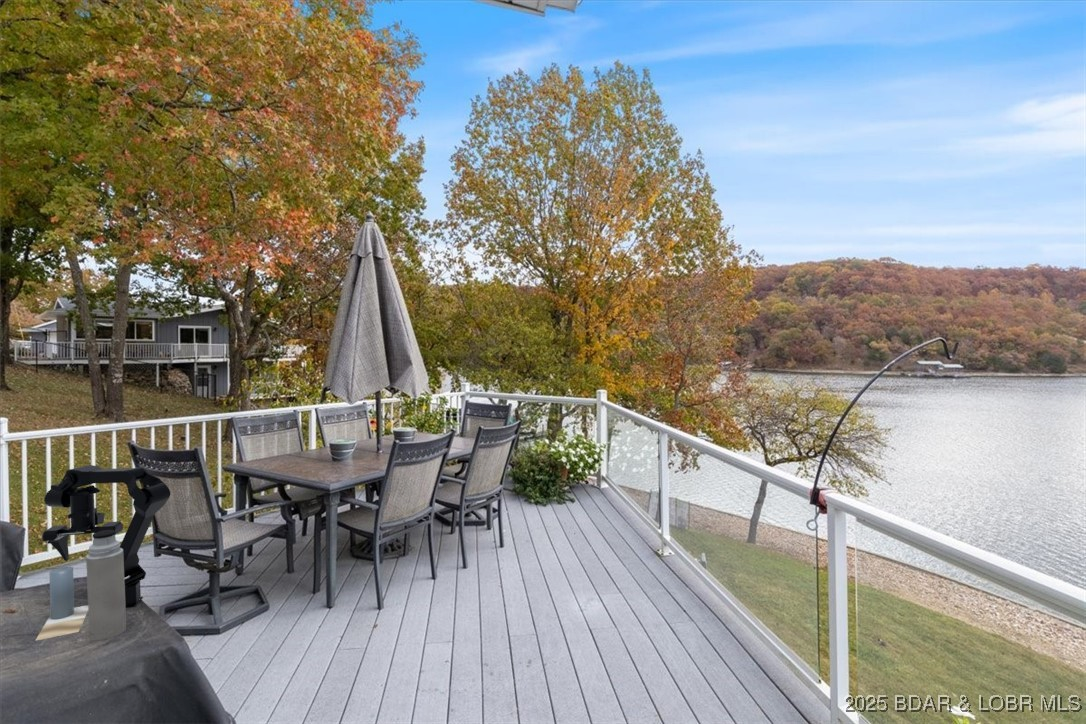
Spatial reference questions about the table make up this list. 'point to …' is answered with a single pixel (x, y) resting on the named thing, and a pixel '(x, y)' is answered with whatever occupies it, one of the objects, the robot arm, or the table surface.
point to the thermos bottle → (105, 586)
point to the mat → (64, 624)
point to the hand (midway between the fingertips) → (84, 558)
